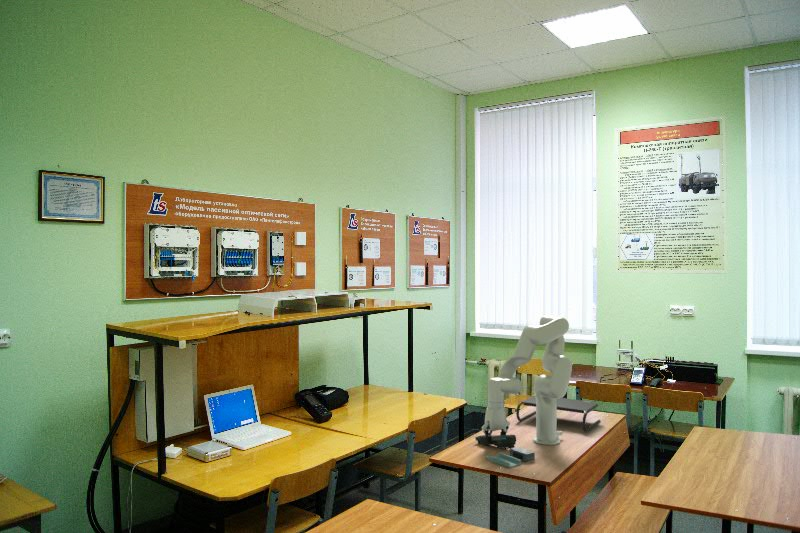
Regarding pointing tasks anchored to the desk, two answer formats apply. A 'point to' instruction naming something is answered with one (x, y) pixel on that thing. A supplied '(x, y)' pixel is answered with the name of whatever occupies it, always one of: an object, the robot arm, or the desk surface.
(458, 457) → the desk surface
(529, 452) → the block
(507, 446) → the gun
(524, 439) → the desk surface
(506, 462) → the cradle tray
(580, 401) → the monitor stand
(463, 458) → the desk surface
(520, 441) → the desk surface
